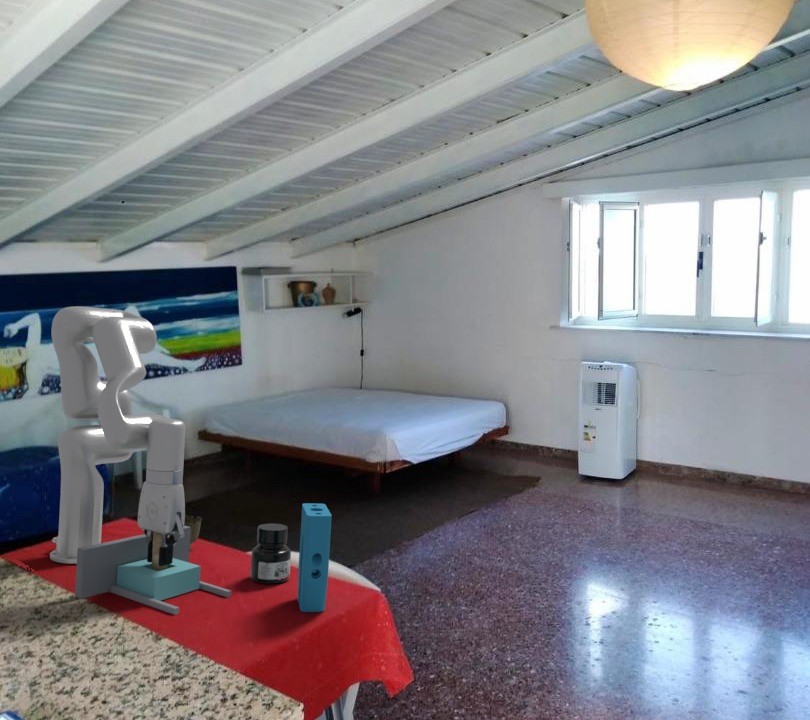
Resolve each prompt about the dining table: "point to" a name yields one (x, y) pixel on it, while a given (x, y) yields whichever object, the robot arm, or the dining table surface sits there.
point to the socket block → (159, 578)
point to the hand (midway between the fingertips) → (159, 562)
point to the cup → (193, 527)
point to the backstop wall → (104, 559)
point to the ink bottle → (271, 555)
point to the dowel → (157, 551)
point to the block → (314, 557)
